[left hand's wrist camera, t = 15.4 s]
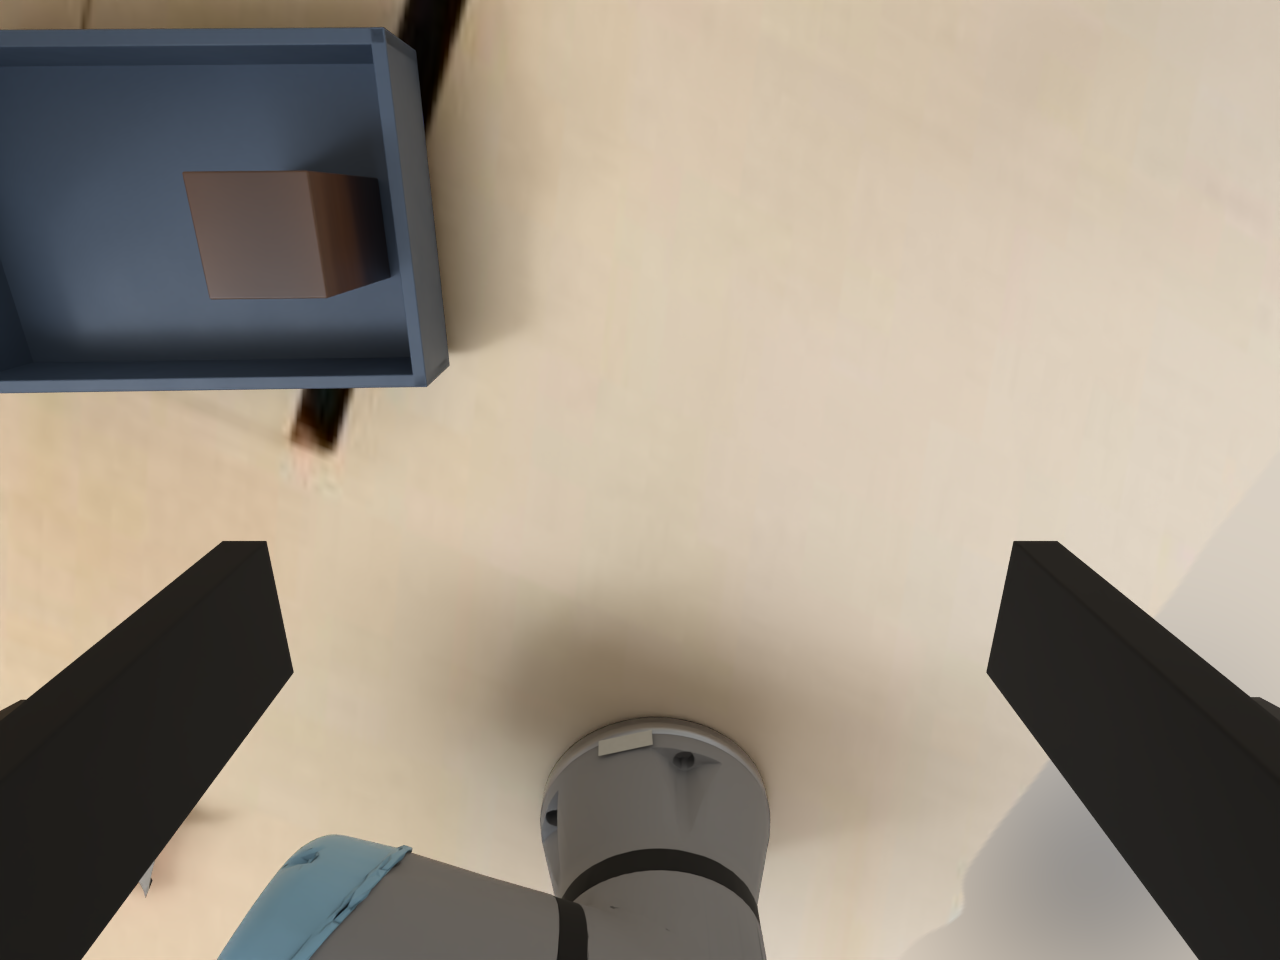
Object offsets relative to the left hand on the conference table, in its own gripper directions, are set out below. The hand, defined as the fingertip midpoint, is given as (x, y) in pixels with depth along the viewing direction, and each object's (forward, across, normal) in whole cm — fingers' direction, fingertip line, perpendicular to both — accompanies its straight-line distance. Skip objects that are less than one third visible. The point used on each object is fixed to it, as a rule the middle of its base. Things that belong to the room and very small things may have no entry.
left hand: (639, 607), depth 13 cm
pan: (+25, +24, -6) cm, 36 cm away
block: (+25, +14, -6) cm, 29 cm away
